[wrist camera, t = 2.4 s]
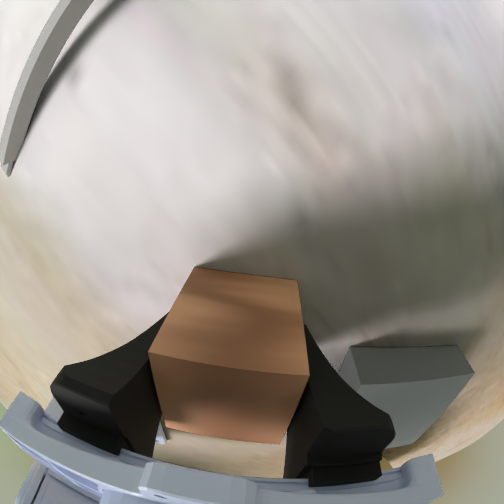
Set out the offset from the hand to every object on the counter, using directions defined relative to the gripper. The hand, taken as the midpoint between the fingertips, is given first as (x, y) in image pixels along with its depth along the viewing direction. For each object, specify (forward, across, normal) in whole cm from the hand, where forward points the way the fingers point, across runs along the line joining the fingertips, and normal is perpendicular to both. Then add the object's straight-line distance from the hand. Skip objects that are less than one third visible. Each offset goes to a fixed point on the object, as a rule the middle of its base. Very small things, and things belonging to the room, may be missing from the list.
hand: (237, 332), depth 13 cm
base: (+1, -11, +6) cm, 13 cm away
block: (+1, 0, 0) cm, 1 cm away
